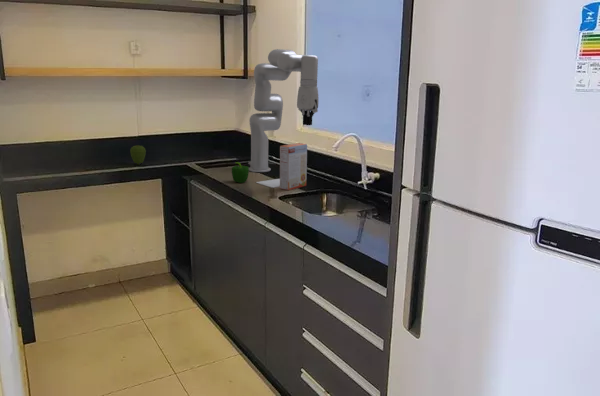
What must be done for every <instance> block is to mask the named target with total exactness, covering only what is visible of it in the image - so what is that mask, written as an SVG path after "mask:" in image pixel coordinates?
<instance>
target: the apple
mask: <svg viewBox="0 0 600 396" xmlns="http://www.w3.org/2000/svg"><path fill="white" fill-rule="evenodd" d="M129 152H130V156H131V159H132V161H133V163H134V164H135V163H137V164H136V165H140V164H139V163H142V164H143V162H144V161H145V158H146V154H147V153H146V152H147V150H146V148H145V147H144V145H139V144H137V145H133V146H131V147H130V150H129Z"/></svg>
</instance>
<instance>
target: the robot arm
mask: <svg viewBox="0 0 600 396" xmlns="http://www.w3.org/2000/svg"><path fill="white" fill-rule="evenodd" d="M267 59H268V60H267V61H268V63H267V62H265V63H264V62H263V63H258V64H256V66H255V67H254V69H253V78H254V83H255V85H254V86H255V88H254V98H253V108H254V109H255V111H257V113H254V114H251V115H250V117H249V122H248V123H249V128H250V161H248V163H247V164H248V165H249V166H250V167H249V166H248V168H249V172H253V173H267V172H270V171H271V169H272V168H271V167H269V137H268V136H267V135H268V134H266V131H278V130H279V129H280V127H281V125H282V118H283V117H282V116H283V110H284V109H283V107H284V101H283V97H282V95H280V94H278V93H271V92H272V84H271V82H270V81H274V82H275V81H278V82H279V81H280V82H281V81H286V80H287V79H288V78H289V77H290V75H291V73H292V72H297V73H298V72H300V80H299V84H300V85H299V86H298V89H297V96H296V97H297V100H296V108H297V109H298V111H299V112H301V116H302V125H303V126H313V117H314V114H315V113H318V111H319V110H318V108H319V89H318V88H319V87H318V74H319V73H318V70H319V69H318V68H319V66H318V65H319V57H318V56H317V55H315V54H313V55H312V54H297V53H296V52H295V50H293V49H283V48H282V49H281V48H276V49H273V50H271V51H270V52H268V56H267ZM259 112H260V113H259ZM268 112H269V113H268Z"/></svg>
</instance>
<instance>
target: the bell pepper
mask: <svg viewBox="0 0 600 396" xmlns="http://www.w3.org/2000/svg"><path fill="white" fill-rule="evenodd" d="M249 173H250V171H249V166H246V165H242V164H241V162H239V161H237V162H236V161H235V165H234V166H232V167H231V176H232V180H233V182H235V183H240V184H242V183H246V182H247V180H248V178H249Z"/></svg>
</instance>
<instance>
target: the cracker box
mask: <svg viewBox="0 0 600 396" xmlns="http://www.w3.org/2000/svg"><path fill="white" fill-rule="evenodd" d="M307 164H308V144H307V143H303V142H296V143H291V144H283V145H280V146H279V179H280V187H279V189H280V190H284V191H291V190H295V189H299V188H304V187H306V186H307V178H308V177H307V173H308V172H307V171H308V165H307Z"/></svg>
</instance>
